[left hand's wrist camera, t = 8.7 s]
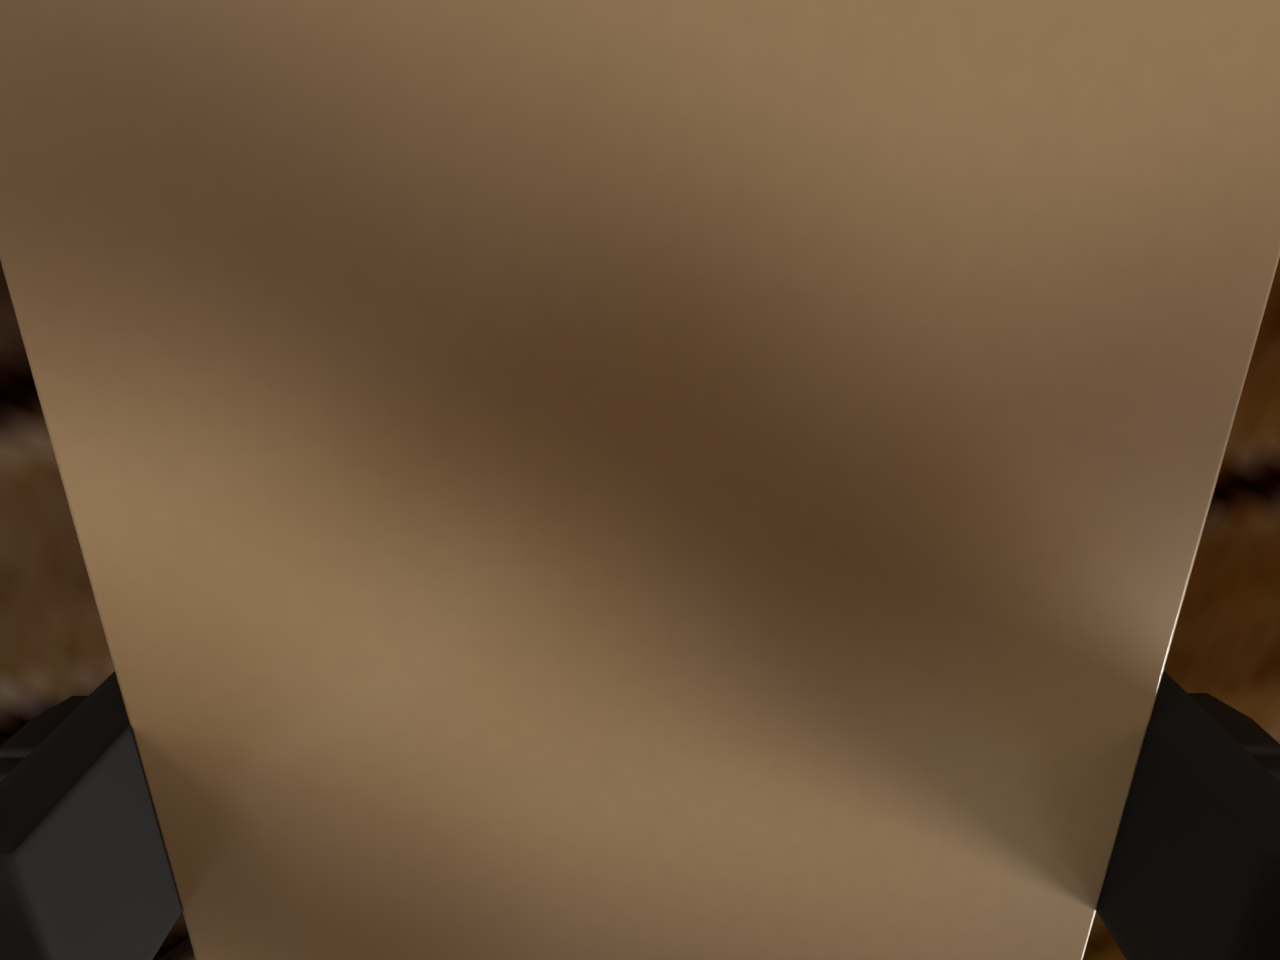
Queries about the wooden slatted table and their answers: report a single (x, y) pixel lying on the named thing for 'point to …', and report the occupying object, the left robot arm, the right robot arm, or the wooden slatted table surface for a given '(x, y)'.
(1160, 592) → the cabinet
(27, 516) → the wooden slatted table surface
